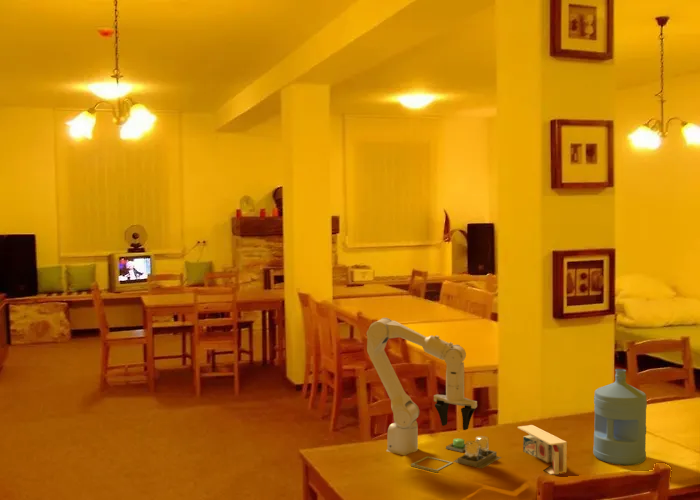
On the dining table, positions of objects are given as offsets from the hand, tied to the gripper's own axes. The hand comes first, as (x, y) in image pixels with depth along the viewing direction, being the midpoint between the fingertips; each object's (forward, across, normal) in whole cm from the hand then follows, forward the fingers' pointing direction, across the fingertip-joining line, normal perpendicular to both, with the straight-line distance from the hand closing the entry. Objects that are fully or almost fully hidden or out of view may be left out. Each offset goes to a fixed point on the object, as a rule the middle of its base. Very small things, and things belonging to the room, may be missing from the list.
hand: (454, 427), depth 234 cm
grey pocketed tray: (+10, -8, 0) cm, 13 cm away
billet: (+9, -8, +3) cm, 12 cm away
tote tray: (+10, +1, +12) cm, 16 cm away
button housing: (+10, +2, -6) cm, 12 cm away
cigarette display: (+10, -24, -12) cm, 29 cm away
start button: (+9, +2, -6) cm, 11 cm away
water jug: (+10, -41, -32) cm, 53 cm away
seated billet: (+9, -8, -3) cm, 12 cm away
